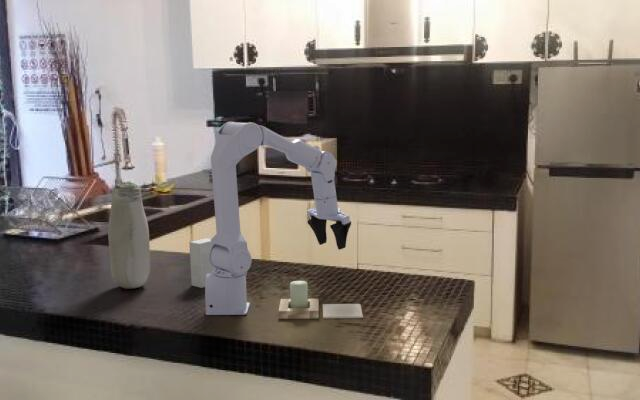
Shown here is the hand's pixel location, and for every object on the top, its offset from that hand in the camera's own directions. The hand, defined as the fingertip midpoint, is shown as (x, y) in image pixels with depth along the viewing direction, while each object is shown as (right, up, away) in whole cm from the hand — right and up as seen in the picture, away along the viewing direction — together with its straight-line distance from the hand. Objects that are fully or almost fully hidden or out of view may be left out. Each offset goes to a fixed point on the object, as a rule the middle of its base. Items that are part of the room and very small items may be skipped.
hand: (332, 245), depth 175 cm
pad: (+2, -14, -21) cm, 25 cm away
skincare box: (-34, -11, +3) cm, 36 cm away
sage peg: (-8, -14, -21) cm, 26 cm away
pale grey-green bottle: (-53, -11, +1) cm, 54 cm away
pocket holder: (-8, -14, -21) cm, 26 cm away
